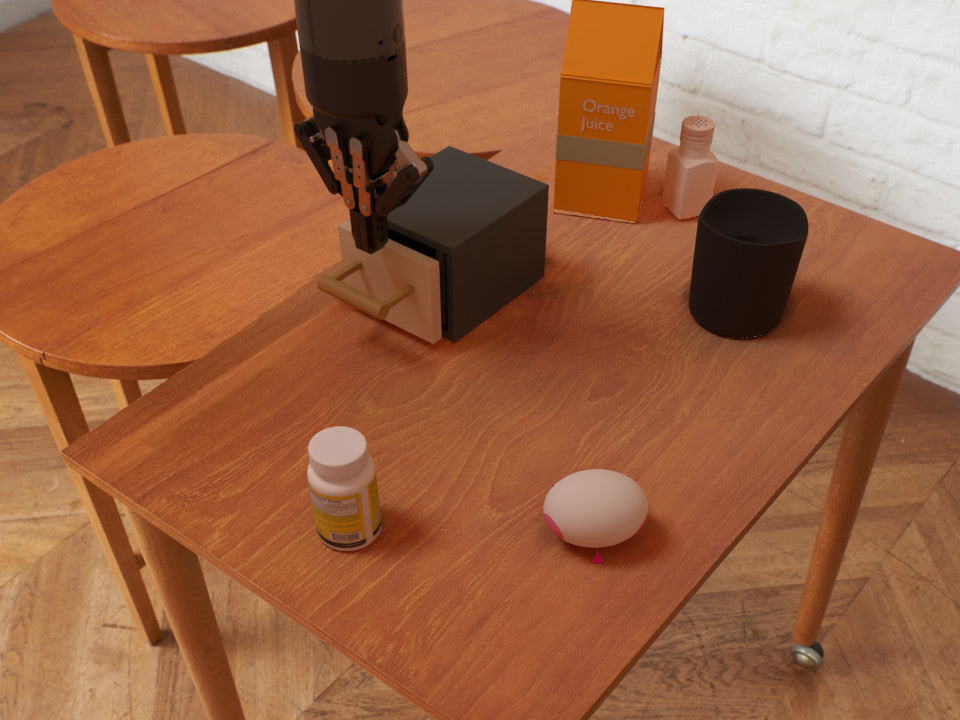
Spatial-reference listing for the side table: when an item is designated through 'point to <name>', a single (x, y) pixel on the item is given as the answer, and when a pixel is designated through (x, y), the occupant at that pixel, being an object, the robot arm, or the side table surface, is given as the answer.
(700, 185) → the pepper shaker
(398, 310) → the drawer
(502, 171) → the cabinet
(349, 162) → the robot arm
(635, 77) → the orange juice
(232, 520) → the side table surface
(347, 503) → the supplement bottle
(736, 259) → the pen holder
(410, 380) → the side table surface
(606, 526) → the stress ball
